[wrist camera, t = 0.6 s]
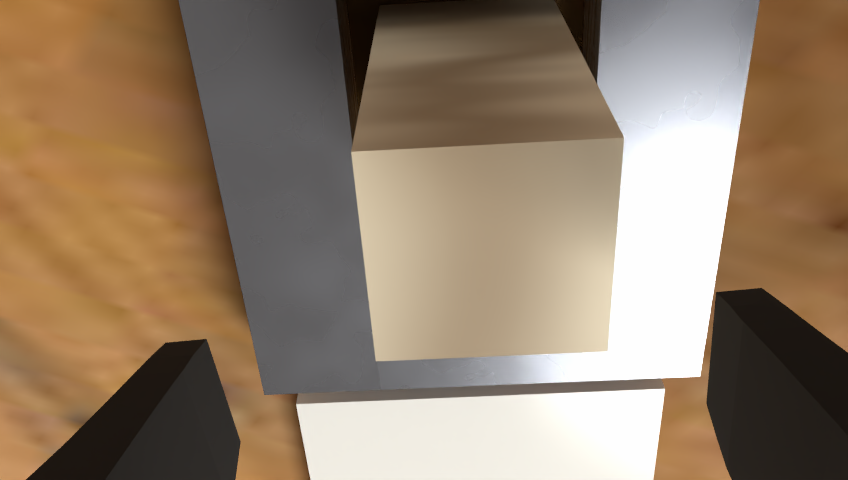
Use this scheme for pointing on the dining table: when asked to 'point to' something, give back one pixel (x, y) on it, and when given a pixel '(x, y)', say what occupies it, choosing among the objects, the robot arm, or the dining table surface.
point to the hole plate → (337, 204)
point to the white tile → (485, 432)
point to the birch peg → (485, 184)
